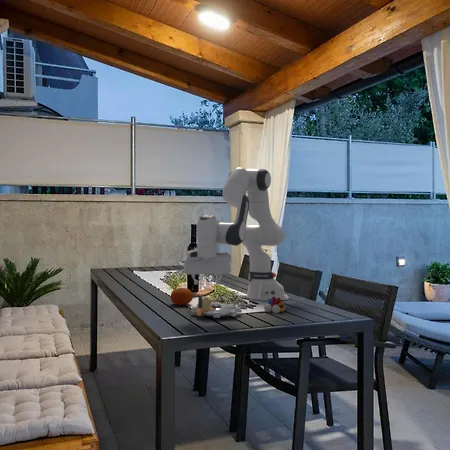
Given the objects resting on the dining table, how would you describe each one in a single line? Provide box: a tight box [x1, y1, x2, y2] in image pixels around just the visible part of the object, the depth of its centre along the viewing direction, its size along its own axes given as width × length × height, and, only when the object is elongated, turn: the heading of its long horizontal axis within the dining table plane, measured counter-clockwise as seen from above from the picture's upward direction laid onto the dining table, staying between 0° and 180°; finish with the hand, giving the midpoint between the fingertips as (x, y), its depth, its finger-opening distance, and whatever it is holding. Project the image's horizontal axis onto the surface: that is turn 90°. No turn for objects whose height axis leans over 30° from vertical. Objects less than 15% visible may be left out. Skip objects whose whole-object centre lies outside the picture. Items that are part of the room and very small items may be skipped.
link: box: [202, 295, 212, 310], centre depth 207 cm, size 4×6×5 cm, turn 6°
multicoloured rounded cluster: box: [263, 296, 286, 315], centre depth 222 cm, size 8×10×7 cm
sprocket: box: [191, 294, 242, 318], centre depth 212 cm, size 22×22×7 cm
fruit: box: [170, 287, 193, 306], centre depth 233 cm, size 11×10×8 cm
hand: (206, 284), depth 208 cm, fingers open, 8 cm apart
